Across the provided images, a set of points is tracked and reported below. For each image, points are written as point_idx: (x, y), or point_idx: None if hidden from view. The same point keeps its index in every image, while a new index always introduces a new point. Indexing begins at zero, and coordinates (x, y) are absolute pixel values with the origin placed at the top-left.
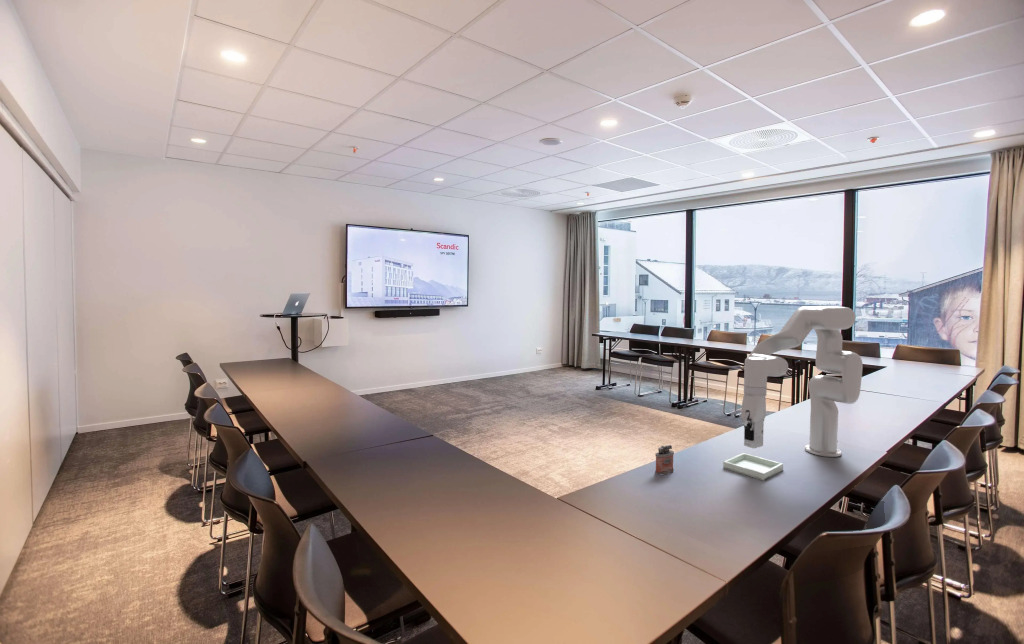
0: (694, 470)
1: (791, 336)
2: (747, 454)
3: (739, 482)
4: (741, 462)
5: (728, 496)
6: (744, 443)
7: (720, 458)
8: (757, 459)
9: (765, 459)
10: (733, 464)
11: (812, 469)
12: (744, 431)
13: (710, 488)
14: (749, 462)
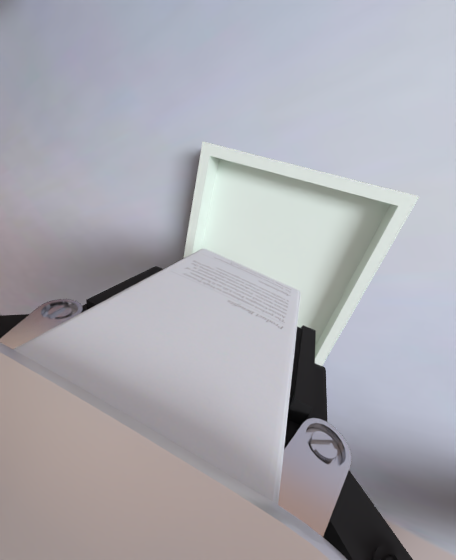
0: (119, 45)
1: None
2: (390, 224)
3: (132, 234)
4: (313, 204)
5: (45, 226)
6: (197, 253)
7: (353, 76)
8: (358, 273)
9: (342, 310)
10: (195, 194)
11: (385, 436)
12: (141, 281)
13: (46, 170)
14: (333, 237)
